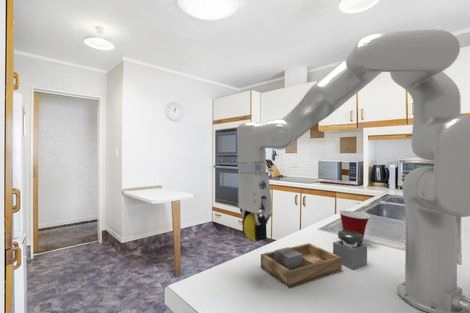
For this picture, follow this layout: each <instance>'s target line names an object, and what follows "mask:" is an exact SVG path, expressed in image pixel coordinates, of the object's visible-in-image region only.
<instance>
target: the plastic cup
mask: <svg viewBox="0 0 470 313" xmlns="http://www.w3.org/2000/svg"><path fill="white" fill-rule="evenodd" d="M338 213H339V215H340V220H341V221H340V222H341V226H342V230H349V231H355V232H358V233H360V234H362V241H361V242H358V243H361V244H363V240H364V237H365V233H366V228H367V225H368V221H369V219H371V216H370V215H368V214H366V213H363V212H358V211H352V210H339V211H338Z"/></svg>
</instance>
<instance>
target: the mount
mask: <svg viewBox="0 0 470 313" xmlns="http://www.w3.org/2000/svg"><path fill="white" fill-rule="evenodd" d="M332 253H333V254H335V255H337V256H340V257H342V267H343V266H344V267H346V268H347V269H349V270H356V269H359V268H362V267H366V266H367V265H368V245H366V244H365V243H364V244H363V243H362V244H361V243H358V242H357V247H354V248H350V247H348V246H345V245H343V240H341V239H339V240H336V241H332Z"/></svg>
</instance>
